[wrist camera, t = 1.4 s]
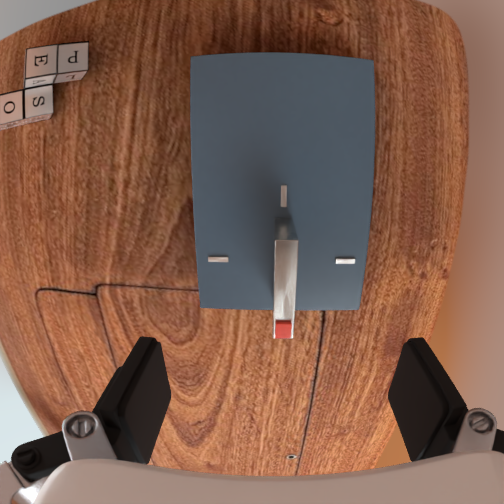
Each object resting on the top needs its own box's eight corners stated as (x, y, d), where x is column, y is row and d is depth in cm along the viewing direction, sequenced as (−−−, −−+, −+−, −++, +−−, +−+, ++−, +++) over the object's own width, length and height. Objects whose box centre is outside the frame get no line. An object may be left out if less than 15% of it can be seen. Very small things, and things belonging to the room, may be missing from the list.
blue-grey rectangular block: (200, 66, 20) (189, 55, 17) (361, 69, 19) (374, 59, 16) (208, 302, 26) (200, 321, 24) (349, 303, 26) (357, 323, 23)
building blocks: (76, 62, 22) (-3, 76, 17) (88, 41, 18) (-6, 55, 13) (77, 114, 23) (-3, 131, 18) (89, 101, 19) (-8, 120, 15)
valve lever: (274, 216, 21) (275, 241, 16) (292, 217, 20) (299, 241, 16) (272, 298, 23) (272, 341, 18) (289, 298, 23) (293, 341, 18)
